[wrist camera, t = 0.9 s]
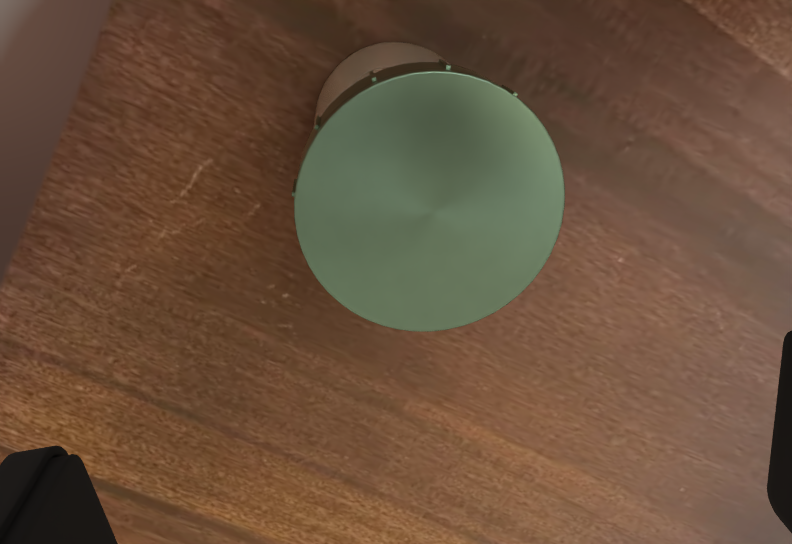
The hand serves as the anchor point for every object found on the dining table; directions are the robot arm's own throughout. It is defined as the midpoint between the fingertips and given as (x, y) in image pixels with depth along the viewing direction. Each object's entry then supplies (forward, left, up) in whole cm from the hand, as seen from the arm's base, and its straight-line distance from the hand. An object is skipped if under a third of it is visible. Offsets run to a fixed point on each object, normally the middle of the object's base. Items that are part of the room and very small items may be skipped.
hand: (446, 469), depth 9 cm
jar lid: (-1, +1, -9) cm, 9 cm away
